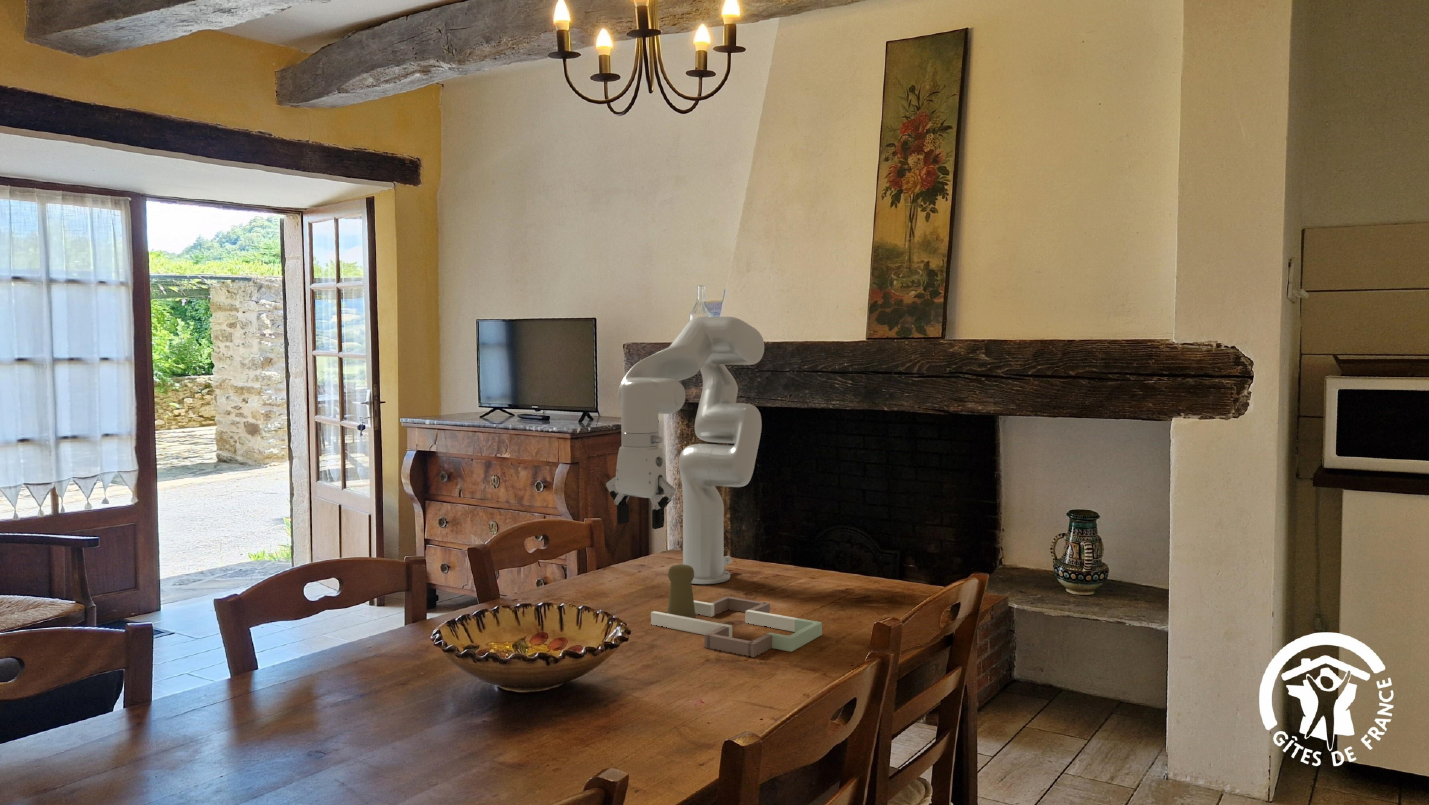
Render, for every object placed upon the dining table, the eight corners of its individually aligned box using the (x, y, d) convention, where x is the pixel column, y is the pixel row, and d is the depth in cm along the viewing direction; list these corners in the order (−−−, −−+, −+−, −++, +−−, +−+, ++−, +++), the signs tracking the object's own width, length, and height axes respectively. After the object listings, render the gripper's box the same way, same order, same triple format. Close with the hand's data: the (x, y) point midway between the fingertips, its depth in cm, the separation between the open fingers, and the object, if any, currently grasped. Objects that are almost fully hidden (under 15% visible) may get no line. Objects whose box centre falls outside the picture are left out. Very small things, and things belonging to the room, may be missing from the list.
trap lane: (703, 603, 209) (703, 592, 209) (836, 626, 193) (836, 614, 193) (630, 632, 188) (630, 620, 188) (773, 661, 172) (773, 648, 171)
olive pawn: (697, 615, 200) (698, 562, 199) (694, 624, 194) (694, 569, 193) (668, 615, 201) (668, 561, 200) (663, 623, 195) (663, 568, 194)
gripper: (685, 441, 199) (685, 527, 200) (617, 436, 208) (618, 518, 209) (664, 445, 193) (664, 533, 194) (594, 440, 202) (595, 524, 203)
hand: (640, 525), depth 202 cm, fingers open, 8 cm apart
